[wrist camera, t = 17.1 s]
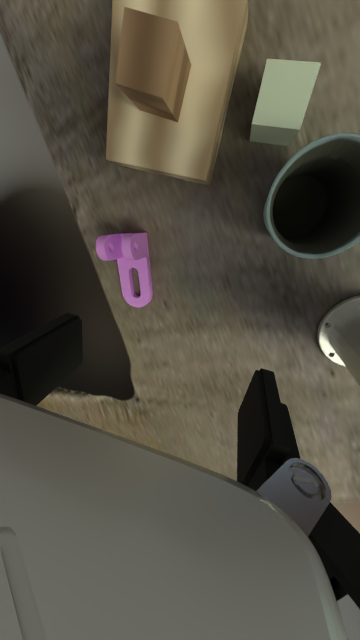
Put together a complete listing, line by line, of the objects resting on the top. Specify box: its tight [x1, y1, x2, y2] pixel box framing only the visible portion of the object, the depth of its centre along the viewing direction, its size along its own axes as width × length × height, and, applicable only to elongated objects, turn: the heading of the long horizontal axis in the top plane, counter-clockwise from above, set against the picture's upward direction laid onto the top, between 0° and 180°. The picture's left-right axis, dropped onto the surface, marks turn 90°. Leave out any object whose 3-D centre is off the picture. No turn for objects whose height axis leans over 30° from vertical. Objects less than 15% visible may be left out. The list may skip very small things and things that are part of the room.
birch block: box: [106, 0, 248, 185], centre depth 28 cm, size 14×16×5 cm
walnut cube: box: [115, 7, 191, 122], centre depth 23 cm, size 5×5×6 cm
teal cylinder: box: [263, 133, 360, 259], centre depth 26 cm, size 10×10×12 cm
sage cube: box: [250, 59, 321, 146], centre depth 25 cm, size 5×5×6 cm
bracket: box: [96, 232, 153, 307], centre depth 37 cm, size 13×6×7 cm, turn 3°
